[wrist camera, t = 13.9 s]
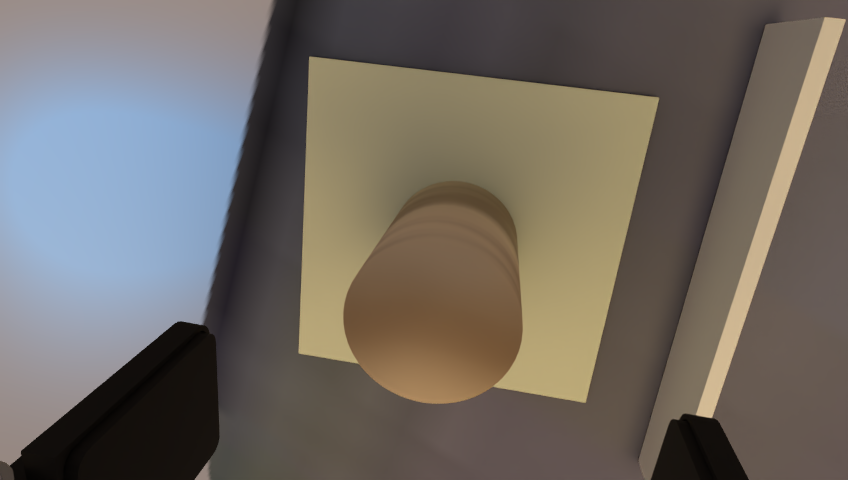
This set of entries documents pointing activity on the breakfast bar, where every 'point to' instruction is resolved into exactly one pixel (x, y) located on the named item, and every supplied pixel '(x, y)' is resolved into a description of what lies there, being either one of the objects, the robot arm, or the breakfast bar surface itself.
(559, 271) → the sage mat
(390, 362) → the birch cylinder
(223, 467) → the breakfast bar surface
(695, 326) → the cream plank
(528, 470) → the breakfast bar surface
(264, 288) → the breakfast bar surface
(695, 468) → the robot arm
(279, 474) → the breakfast bar surface
